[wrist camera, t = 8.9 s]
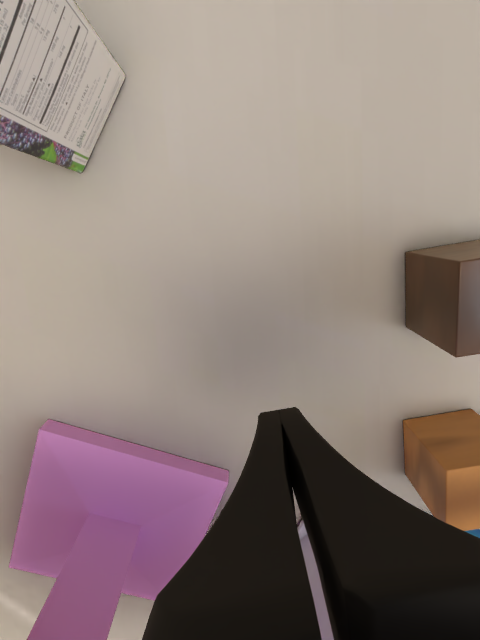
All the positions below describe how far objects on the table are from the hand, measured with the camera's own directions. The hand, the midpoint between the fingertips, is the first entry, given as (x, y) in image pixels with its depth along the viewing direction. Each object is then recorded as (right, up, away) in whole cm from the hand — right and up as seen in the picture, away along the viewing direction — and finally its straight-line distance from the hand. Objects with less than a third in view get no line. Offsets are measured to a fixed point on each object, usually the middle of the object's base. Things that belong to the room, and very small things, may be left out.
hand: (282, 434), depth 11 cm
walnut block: (+12, +6, +9) cm, 16 cm away
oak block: (+13, -5, +13) cm, 19 cm away
